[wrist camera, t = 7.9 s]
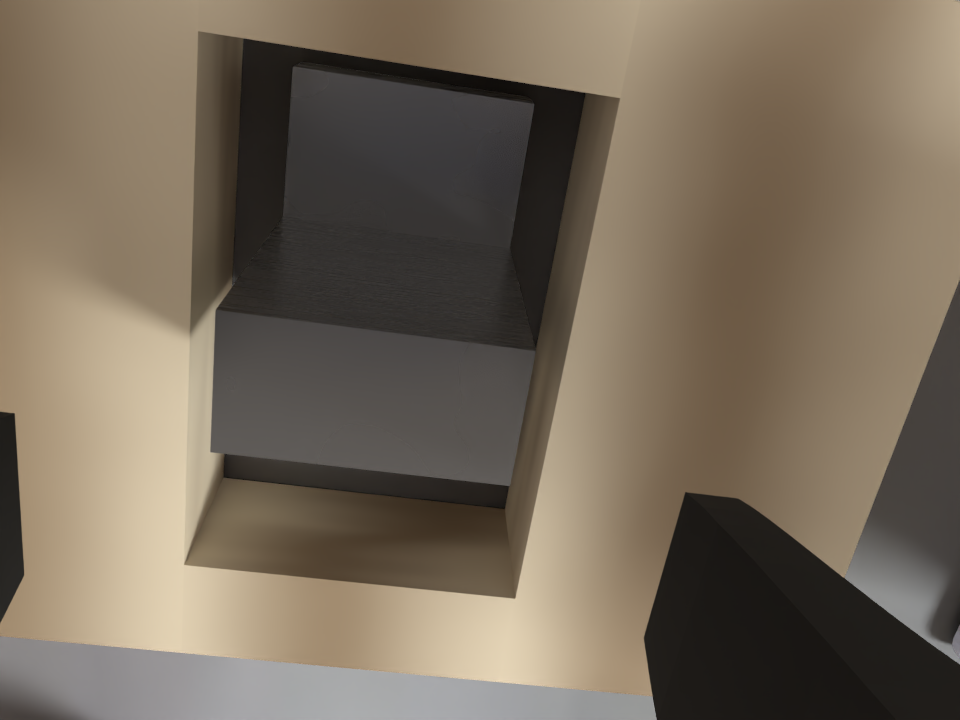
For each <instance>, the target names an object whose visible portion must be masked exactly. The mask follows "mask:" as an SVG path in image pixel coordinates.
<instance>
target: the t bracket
mask: <svg viewBox="0 0 960 720" xmlns="http://www.w3.org/2000/svg"><path fill="white" fill-rule="evenodd" d="M533 110H534V103H533V101H532V100H531V99H530V98H529V97H526V96H520V95H514V94H507V93H501V92H494V91H488V90H481V89H475V88H469V87H462V86H456V85H449V84H443V83H436V82H430V81H424V80H417V79H411V78H404V77H398V76H391V75H385V74H379V73H372V72H366V71H359V70H353V69H347V68H340V67H334V66H327V65H321V64H314V63H308V62H301V63H299V64H297V65H295V66H293V71H292V86H291V101H290V116H289V132H288V147H287V162H286V177H285V192H284V207H283V217H282V218H281V220H280V221H279V223H278V224H277V225H276V227H275V228H274V230H273V231H272V232H271V234H270V235H269V237H268V238H267V239H266V241H265V242H264V243H263V245H262V246H261V248H260V249H259V250H258V252H257V253H256V255H255V256H254V257H253V259H252V260H251V261H250V263H249V264H248V266H247V267H246V268H245V270H244V271H243V273H242V274H241V275H240V277H239V278H238V280H237V281H236V282H235V284H234V285H233V286H232V288H231V289H230V291H229V292H228V293H227V295H226V296H225V298H224V299H223V300H222V302H221V303H220V304H219V306H218V307H217V309H216V311H215V338H214V365H213V392H212V419H211V446H210V452H213V453H222V454H231V455H239V456H248V457H257V458H266V459H275V460H284V461H292V462H301V463H310V464H319V465H328V466H337V467H346V468H354V469H363V470H372V471H381V472H390V473H399V474H408V475H416V476H425V477H434V478H443V479H452V480H461V481H470V482H478V483H487V484H496V485H505V486H510V484H511V479H512V474H513V468H514V463H515V458H516V453H517V448H518V442H519V437H520V432H521V427H522V422H523V416H524V411H525V406H526V401H527V395H528V390H529V385H530V380H531V375H532V369H533V364H534V359H535V354H536V349H535V345H534V341H533V337H532V333H531V329H530V325H529V321H528V317H527V313H526V310H525V306H524V302H523V298H522V294H521V290H520V286H519V282H518V278H517V274H516V270H515V266H514V262H513V258H512V254H511V250H510V245H511V239H512V233H513V227H514V221H515V215H516V210H517V204H518V198H519V192H520V186H521V180H522V174H523V169H524V163H525V157H526V151H527V145H528V139H529V133H530V128H531V122H532V116H533Z"/></svg>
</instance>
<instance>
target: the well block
mask: <svg viewBox="0 0 960 720" xmlns="http://www.w3.org/2000/svg"><path fill="white" fill-rule="evenodd" d="M243 38H245V39H251V40H257V41H264V42H270V43H276V44H282V45H289V46H295V47H301V48H308V49H314V50H320V51H326V52H333V53H339V54H345V55H352V56H358V57H364V58H371V59H377V60H383V61H389V62H396V63H402V64H408V65H415V66H421V67H427V68H433V69H440V70H446V71H452V72H459V73H465V74H471V75H477V76H484V77H490V78H496V79H503V80H509V81H515V82H522V83H528V84H534V85H540V86H547V87H553V88H559V89H566V90H572V91H578V92H584V93H586V94H585V100H584V105H583V110H582V115H581V120H580V125H579V130H578V136H577V141H576V146H575V151H574V156H573V161H572V166H571V172H570V177H569V182H568V187H567V192H566V197H565V203H564V208H563V213H562V218H561V223H560V228H559V233H558V239H557V244H556V249H555V254H554V259H553V264H552V269H551V275H550V280H549V285H548V290H547V295H546V300H545V305H544V311H543V316H542V321H541V326H540V331H539V336H538V342H537V347H536V354H535V359H534V364H533V369H532V375H531V380H530V385H529V390H528V395H527V401H526V406H525V411H524V416H523V422H522V427H521V432H520V437H519V442H518V448H517V453H516V458H515V463H514V468H513V474H512V479H511V484H510V486H509V491H508V496H507V501H506V506H505V509H500V508H491V507H482V506H473V505H464V504H455V503H446V502H437V501H428V500H419V499H410V498H401V497H392V496H383V495H374V494H365V493H356V492H347V491H338V490H329V489H320V488H311V487H302V486H293V485H284V484H275V483H266V482H257V481H248V480H240V479H231V478H223V475H224V454H222V453H213V452H210V446H211V419H212V392H213V365H214V338H215V311H216V309H217V307H218V306H219V304H220V303H221V302H222V300H223V299H224V298H225V296H226V295H227V293H228V292H229V291H230V289H231V288H232V277H233V255H234V233H235V211H236V189H237V168H238V146H239V124H240V102H241V80H242V58H243ZM959 280H960V1H955V0H0V412H8V413H15V425H16V442H17V459H18V475H19V492H20V509H21V526H22V542H23V559H24V577H23V579H22V581H21V583H20V585H19V587H18V589H17V591H16V593H15V595H14V597H13V599H12V601H11V603H10V605H9V607H8V609H7V611H6V613H5V615H4V617H3V619H2V621H1V623H0V636H5V637H16V638H27V639H37V640H48V641H59V642H70V643H81V644H92V645H103V646H113V647H124V648H135V649H146V650H157V651H168V652H178V653H189V654H200V655H211V656H222V657H233V658H243V659H254V660H265V661H276V662H287V663H298V664H308V665H319V666H330V667H341V668H352V669H363V670H374V671H384V672H395V673H406V674H417V675H428V676H439V677H449V678H460V679H471V680H482V681H493V682H504V683H514V684H525V685H536V686H547V687H558V688H569V689H579V690H590V691H601V692H612V693H623V694H634V695H645V696H653V695H652V690H651V684H650V677H649V671H648V664H647V657H646V650H645V644H644V635H645V631H646V628H647V624H648V621H649V617H650V614H651V610H652V607H653V603H654V600H655V596H656V593H657V589H658V586H659V582H660V579H661V575H662V572H663V568H664V565H665V561H666V558H667V554H668V551H669V547H670V544H671V540H672V537H673V533H674V530H675V526H676V523H677V519H678V516H679V512H680V509H681V505H682V502H683V498H684V495H685V492H688V493H697V494H705V495H714V496H722V497H731V498H738V499H740V500H742V501H743V502H745V503H746V504H748V505H749V506H751V507H753V508H754V509H755V510H757V511H758V512H760V513H761V514H763V515H764V516H765V517H767V518H768V519H769V520H771V521H772V522H773V523H775V524H776V525H777V526H779V527H780V528H781V529H782V530H784V531H785V532H786V533H788V534H789V535H790V536H792V537H793V538H794V539H795V540H797V541H798V542H799V543H800V544H802V545H803V546H804V547H805V548H807V549H808V550H809V551H811V552H812V553H813V554H814V555H816V556H817V557H818V558H819V559H821V560H822V561H823V562H824V563H826V564H827V565H828V566H829V567H831V568H832V569H833V570H835V571H836V572H837V573H838V574H840V575H841V576H842V577H843V578H845V575H846V572H847V570H848V567H849V565H850V562H851V560H852V557H853V554H854V552H855V549H856V547H857V544H858V541H859V539H860V536H861V534H862V531H863V528H864V526H865V523H866V521H867V518H868V516H869V513H870V510H871V508H872V505H873V503H874V500H875V497H876V495H877V492H878V490H879V487H880V484H881V482H882V479H883V477H884V474H885V472H886V469H887V466H888V464H889V461H890V459H891V456H892V453H893V451H894V448H895V446H896V443H897V440H898V438H899V435H900V433H901V430H902V428H903V425H904V422H905V420H906V417H907V415H908V412H909V409H910V407H911V404H912V402H913V399H914V396H915V394H916V391H917V389H918V386H919V384H920V381H921V378H922V376H923V373H924V371H925V368H926V365H927V363H928V360H929V358H930V355H931V352H932V350H933V347H934V345H935V342H936V340H937V337H938V334H939V332H940V329H941V327H942V324H943V321H944V319H945V316H946V314H947V311H948V308H949V306H950V303H951V301H952V298H953V296H954V293H955V290H956V288H957V285H958V283H959Z"/></svg>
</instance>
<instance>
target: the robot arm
mask: <svg viewBox="0 0 960 720" xmlns="http://www.w3.org/2000/svg"><path fill="white" fill-rule="evenodd" d="M23 577H24V559H23V542H22V526H21V509H20V492H19V475H18V459H17V442H16V425H15V413H8V412H0V623H1V621H2V619H3V617H4V615H5V613H6V611H7V609H8V607H9V605H10V603H11V601H12V599H13V597H14V595H15V593H16V591H17V589H18V587H19V585H20V583H21V581H22V579H23ZM644 644H645V650H646V657H647V664H648V671H649V677H650V684H651V690H652V695H653V701H654V706H655V712H656V717H657V720H960V665H959V664H958V663H957V662H955V661H954V660H952V659H951V658H950V657H948V656H947V655H945V654H944V653H943V652H941V651H940V650H938V649H937V648H935V647H934V646H933V645H931V644H930V643H928V642H927V641H926V640H924V639H923V638H922V637H920V636H919V635H918V634H916V633H915V632H914V631H912V630H911V629H910V628H908V627H907V626H906V625H904V624H903V623H902V622H900V621H899V620H898V619H896V618H895V617H894V616H892V615H891V614H890V613H888V612H887V611H886V610H884V609H883V608H882V607H881V606H879V605H878V604H877V603H875V602H874V601H873V600H871V599H870V598H869V597H868V596H866V595H865V594H864V593H863V592H861V591H860V590H859V589H857V588H856V587H855V586H854V585H852V584H851V583H850V582H848V581H847V580H846V579H845V578H843V577H842V576H841V575H840V574H838V573H837V572H836V571H835V570H833V569H832V568H831V567H829V566H828V565H827V564H826V563H824V562H823V561H822V560H821V559H819V558H818V557H817V556H816V555H814V554H813V553H812V552H811V551H809V550H808V549H807V548H805V547H804V546H803V545H802V544H800V543H799V542H798V541H797V540H795V539H794V538H793V537H792V536H790V535H789V534H788V533H786V532H785V531H784V530H782V529H781V528H780V527H779V526H777V525H776V524H775V523H773V522H772V521H771V520H769V519H768V518H767V517H765V516H764V515H763V514H761V513H760V512H758V511H757V510H755V509H754V508H753V507H751V506H749V505H748V504H746V503H745V502H743V501H742V500H740V499H738V498H731V497H722V496H714V495H705V494H697V493H688V492H685V495H684V498H683V502H682V505H681V509H680V512H679V516H678V519H677V523H676V526H675V530H674V533H673V537H672V540H671V544H670V547H669V551H668V554H667V558H666V561H665V565H664V568H663V572H662V575H661V579H660V582H659V586H658V589H657V593H656V596H655V600H654V603H653V607H652V610H651V614H650V617H649V621H648V624H647V628H646V631H645V635H644ZM952 646H953V650H954V652H955V653H956V654H957V656H958V657H959V658H960V625H959V628H958V630H957V632H956V634H955V636H954V638H953V643H952Z"/></svg>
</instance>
